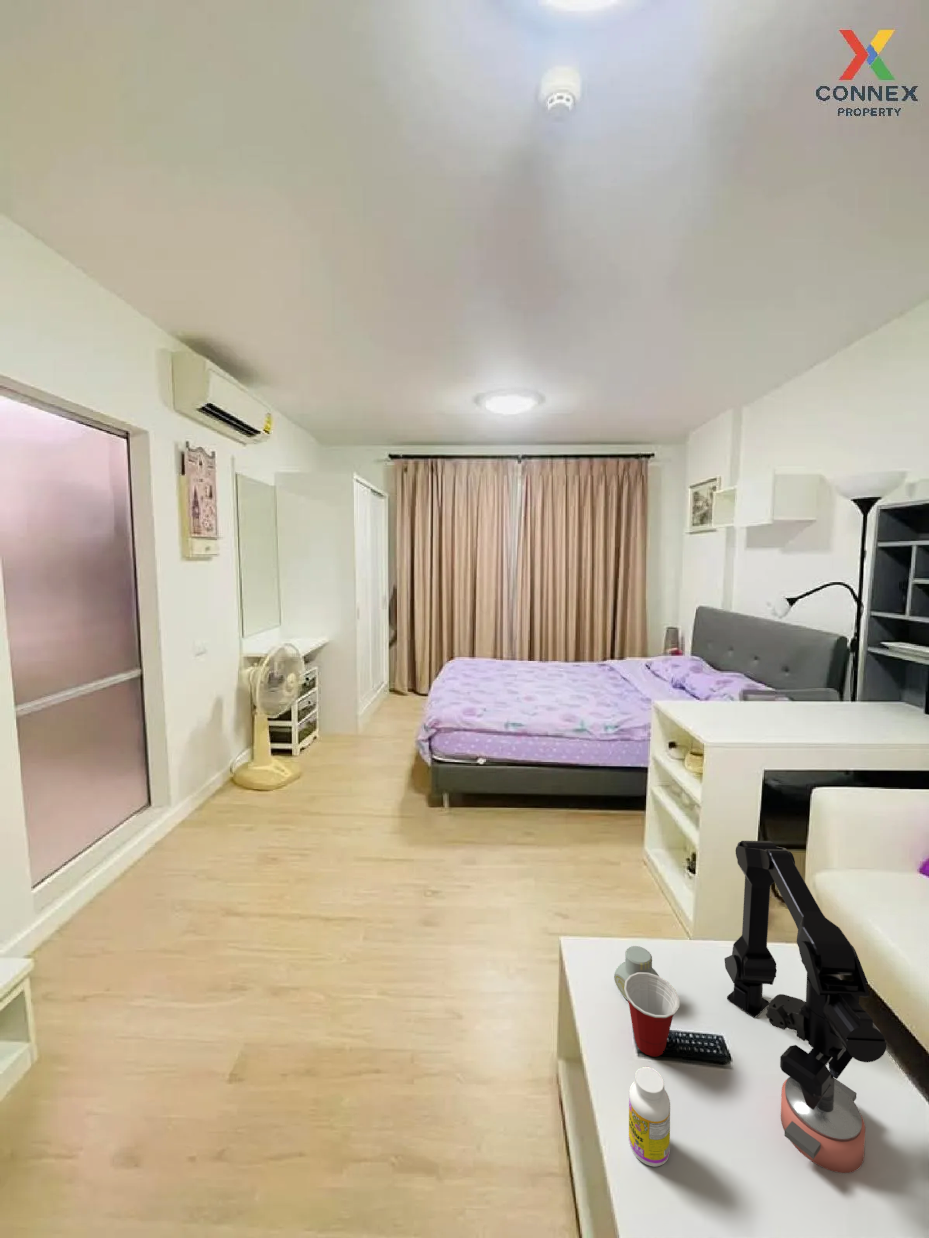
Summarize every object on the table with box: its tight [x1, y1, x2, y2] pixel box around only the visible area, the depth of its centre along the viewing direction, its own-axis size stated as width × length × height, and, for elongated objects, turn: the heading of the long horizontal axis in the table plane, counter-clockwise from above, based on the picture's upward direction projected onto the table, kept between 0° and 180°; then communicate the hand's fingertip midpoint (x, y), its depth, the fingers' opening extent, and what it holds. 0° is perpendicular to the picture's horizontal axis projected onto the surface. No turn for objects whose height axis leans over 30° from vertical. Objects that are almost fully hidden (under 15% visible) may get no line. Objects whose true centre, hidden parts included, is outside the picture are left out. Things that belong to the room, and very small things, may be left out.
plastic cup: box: [624, 972, 680, 1057], centre depth 110 cm, size 11×11×12 cm
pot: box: [780, 1078, 866, 1174], centre depth 92 cm, size 17×12×5 cm
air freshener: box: [613, 945, 660, 1001], centre depth 123 cm, size 11×8×10 cm
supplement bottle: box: [628, 1066, 671, 1168], centre depth 90 cm, size 7×7×13 cm
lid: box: [785, 1075, 862, 1142], centre depth 92 cm, size 11×11×6 cm
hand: (822, 1091), depth 92 cm, fingers open, 9 cm apart
